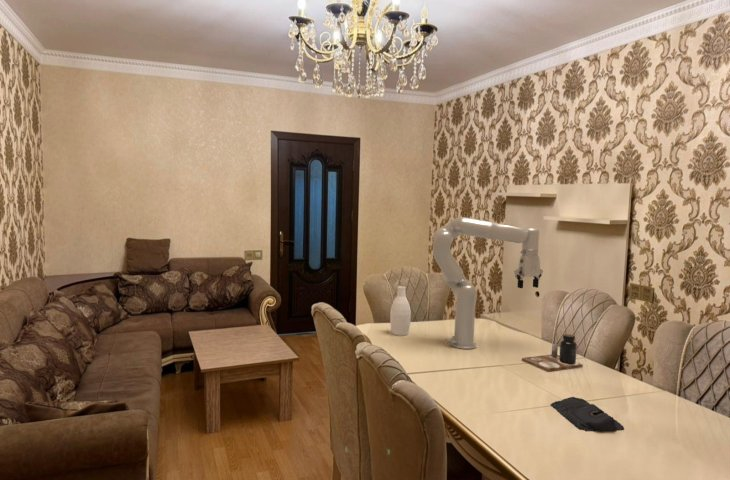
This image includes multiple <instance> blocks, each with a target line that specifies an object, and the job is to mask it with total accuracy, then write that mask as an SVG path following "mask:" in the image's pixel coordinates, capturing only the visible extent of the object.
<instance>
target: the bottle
mask: <svg viewBox="0 0 730 480" xmlns="http://www.w3.org/2000/svg"><path fill="white" fill-rule="evenodd" d="M396 288H397V292H396V293H397V294H396V296H395V297H394V300H393V301H392V304H391V307H390V313H389V316H390V317H389V318H390V319H389V320H390V333H391V335H394V336H400V337H402V336H408V334H409V332H410V326H411V317H412V312H411V305H410V302H409V300H408V299H407V296H406V294H407V293H406V289H407V288H406V286H403V285H399V286H397V287H396Z"/></svg>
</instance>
